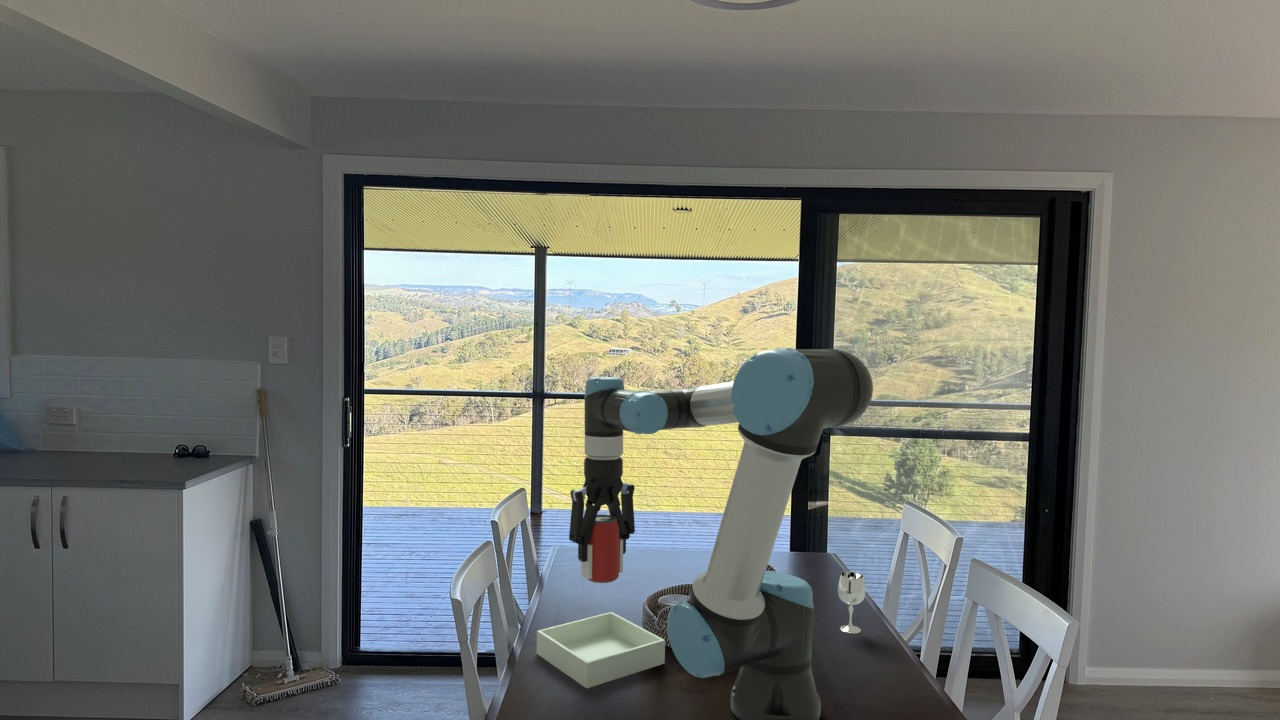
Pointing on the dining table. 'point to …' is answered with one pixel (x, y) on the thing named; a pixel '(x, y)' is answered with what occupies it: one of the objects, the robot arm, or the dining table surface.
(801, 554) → the dining table surface
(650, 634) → the bin
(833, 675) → the dining table surface
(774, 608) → the robot arm
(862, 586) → the wineglass
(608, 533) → the beer can
